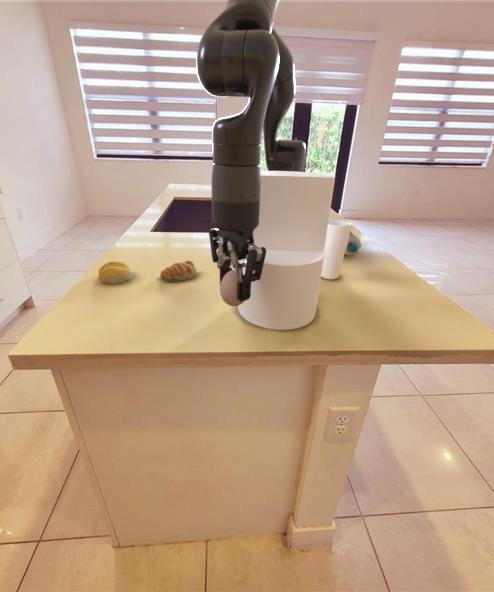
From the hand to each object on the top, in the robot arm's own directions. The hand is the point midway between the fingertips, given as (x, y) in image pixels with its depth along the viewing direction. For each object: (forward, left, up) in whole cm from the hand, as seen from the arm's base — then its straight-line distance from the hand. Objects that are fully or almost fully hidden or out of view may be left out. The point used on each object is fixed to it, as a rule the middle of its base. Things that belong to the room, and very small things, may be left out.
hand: (234, 292), depth 56 cm
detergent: (-61, -25, -10) cm, 66 cm away
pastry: (-3, -31, -10) cm, 32 cm away
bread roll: (+12, -39, -10) cm, 42 cm away
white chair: (-14, -4, -10) cm, 17 cm away
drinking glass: (-38, -10, -10) cm, 40 cm away
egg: (0, 0, -3) cm, 3 cm away
